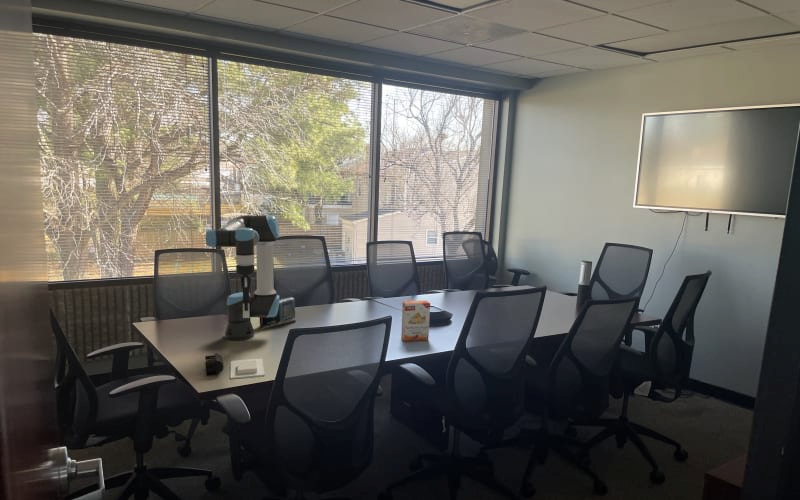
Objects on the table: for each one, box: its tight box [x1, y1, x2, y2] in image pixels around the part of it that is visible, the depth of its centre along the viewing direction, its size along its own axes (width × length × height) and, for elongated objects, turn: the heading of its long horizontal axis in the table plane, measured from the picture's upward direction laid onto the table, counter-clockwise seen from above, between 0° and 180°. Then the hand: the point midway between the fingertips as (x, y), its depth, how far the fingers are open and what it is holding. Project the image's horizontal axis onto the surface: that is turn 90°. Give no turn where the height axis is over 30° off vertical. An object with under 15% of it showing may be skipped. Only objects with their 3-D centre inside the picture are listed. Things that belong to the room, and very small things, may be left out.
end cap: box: [204, 352, 225, 377], centre depth 222 cm, size 10×7×7 cm
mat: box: [229, 357, 265, 380], centre depth 226 cm, size 20×14×1 cm
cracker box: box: [400, 300, 431, 342], centre depth 271 cm, size 14×6×21 cm, turn 105°
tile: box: [238, 360, 257, 374], centre depth 224 cm, size 2×8×10 cm
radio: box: [258, 295, 297, 330], centre depth 292 cm, size 23×9×15 cm, turn 128°
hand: (246, 317), depth 221 cm, fingers closed
